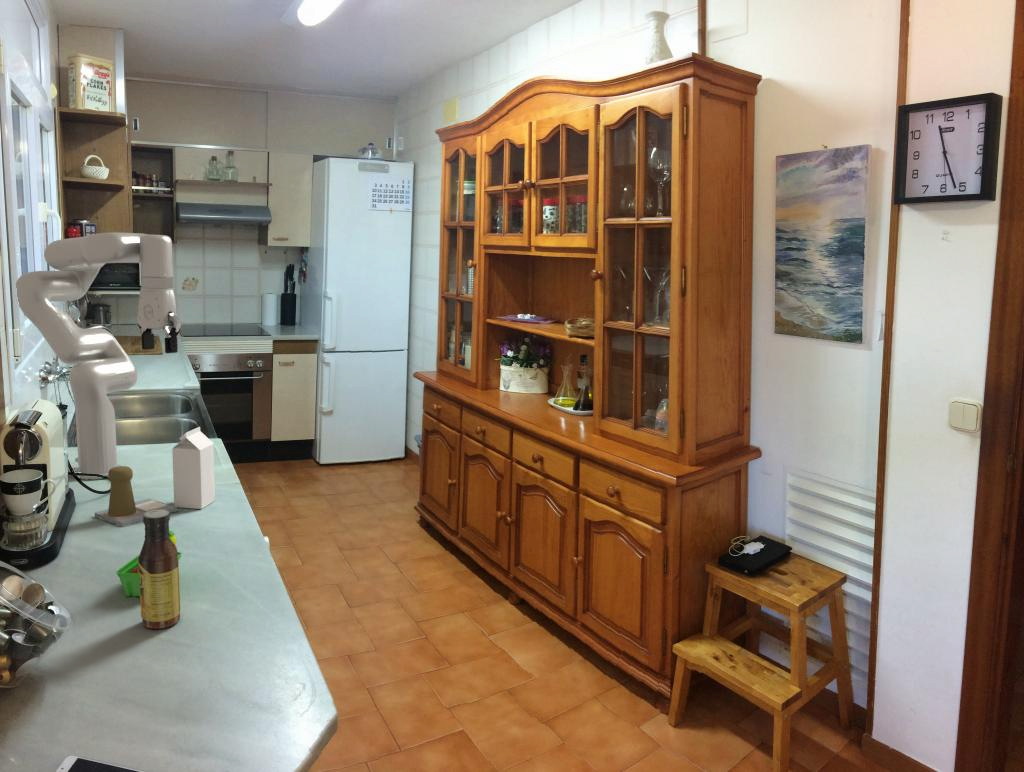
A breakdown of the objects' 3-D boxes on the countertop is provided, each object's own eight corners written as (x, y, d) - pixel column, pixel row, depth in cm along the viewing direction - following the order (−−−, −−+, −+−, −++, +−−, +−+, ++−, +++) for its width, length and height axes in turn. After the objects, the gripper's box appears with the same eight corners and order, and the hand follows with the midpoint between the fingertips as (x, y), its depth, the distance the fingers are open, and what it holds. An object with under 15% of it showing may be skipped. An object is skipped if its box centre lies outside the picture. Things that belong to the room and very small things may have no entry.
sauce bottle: (149, 614, 140) (144, 505, 137) (186, 614, 141) (182, 505, 138) (135, 632, 134) (130, 518, 131) (173, 632, 134) (169, 518, 131)
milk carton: (215, 501, 203) (213, 427, 199) (201, 509, 196) (199, 433, 192) (188, 499, 203) (186, 425, 200) (174, 507, 196) (171, 432, 193)
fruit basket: (145, 574, 157) (143, 519, 155) (190, 576, 157) (188, 521, 155) (115, 599, 146) (112, 540, 144) (163, 601, 146) (161, 542, 144)
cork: (142, 510, 190) (140, 465, 188) (122, 518, 184) (120, 472, 182) (122, 507, 192) (120, 462, 190) (101, 514, 186) (99, 468, 184)
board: (94, 516, 188) (94, 511, 188) (149, 502, 200) (149, 497, 199) (122, 526, 182) (122, 521, 182) (176, 511, 194) (176, 506, 194)
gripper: (123, 282, 205) (126, 348, 208) (164, 286, 196) (167, 355, 199) (150, 282, 211) (152, 346, 214) (191, 285, 202) (193, 353, 205)
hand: (159, 350), depth 206 cm, fingers open, 9 cm apart
